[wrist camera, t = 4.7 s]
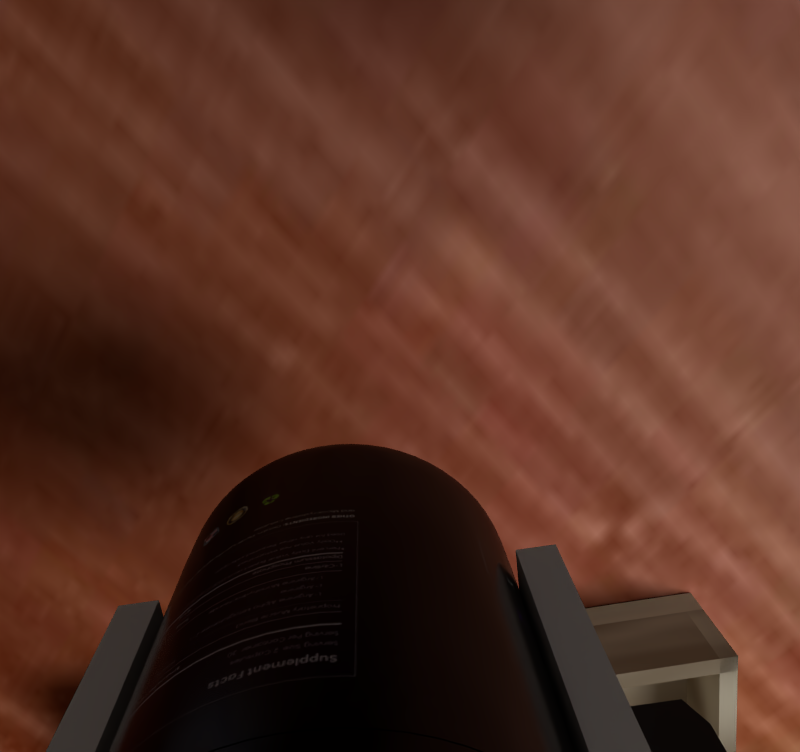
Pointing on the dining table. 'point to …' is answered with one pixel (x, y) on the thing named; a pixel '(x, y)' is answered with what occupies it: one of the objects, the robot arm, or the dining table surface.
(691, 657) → the crate
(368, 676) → the supplement bottle
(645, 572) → the dining table surface
